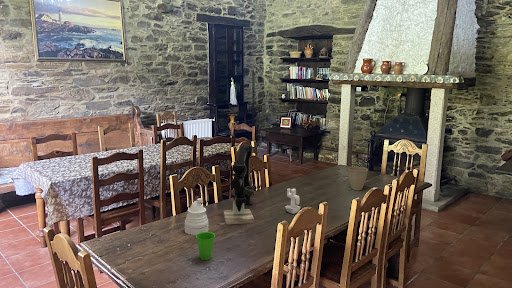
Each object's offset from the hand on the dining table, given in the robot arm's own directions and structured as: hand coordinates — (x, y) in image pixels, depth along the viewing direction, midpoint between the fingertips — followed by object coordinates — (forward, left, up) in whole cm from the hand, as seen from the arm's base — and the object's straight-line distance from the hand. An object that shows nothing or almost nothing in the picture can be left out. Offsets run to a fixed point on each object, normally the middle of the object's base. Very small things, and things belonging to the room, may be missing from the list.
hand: (238, 209), depth 229 cm
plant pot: (-48, +97, -6) cm, 108 cm away
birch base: (0, 0, -6) cm, 6 cm away
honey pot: (+14, -25, -6) cm, 29 cm away
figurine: (-6, +35, -6) cm, 36 cm away
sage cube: (0, 0, -2) cm, 2 cm away
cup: (+47, -22, -6) cm, 52 cm away
